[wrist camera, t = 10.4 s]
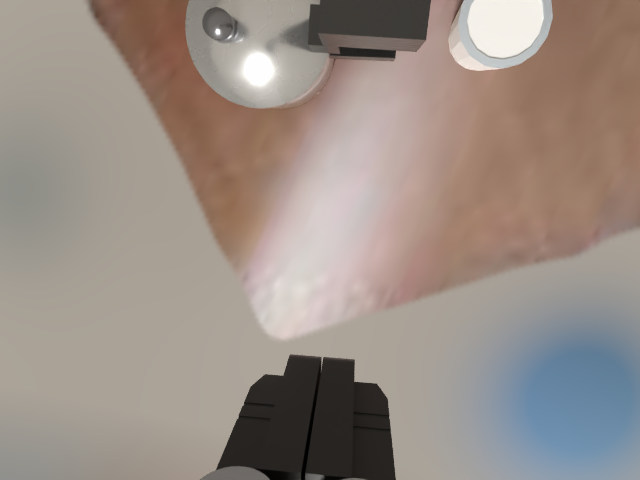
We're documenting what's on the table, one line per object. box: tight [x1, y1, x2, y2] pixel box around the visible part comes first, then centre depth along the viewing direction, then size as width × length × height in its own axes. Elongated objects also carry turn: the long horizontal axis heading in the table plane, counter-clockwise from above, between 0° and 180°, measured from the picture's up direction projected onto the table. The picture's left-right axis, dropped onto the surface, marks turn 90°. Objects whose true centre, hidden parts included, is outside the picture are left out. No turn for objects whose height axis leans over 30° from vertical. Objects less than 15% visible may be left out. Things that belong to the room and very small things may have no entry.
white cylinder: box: [448, 0, 553, 71], centre depth 36 cm, size 7×7×7 cm
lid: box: [185, 0, 431, 108], centre depth 28 cm, size 16×11×8 cm, turn 86°
